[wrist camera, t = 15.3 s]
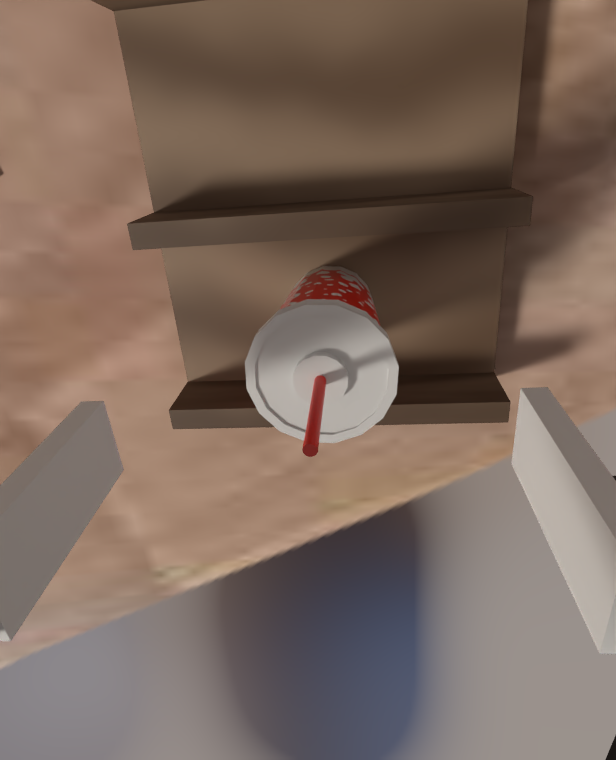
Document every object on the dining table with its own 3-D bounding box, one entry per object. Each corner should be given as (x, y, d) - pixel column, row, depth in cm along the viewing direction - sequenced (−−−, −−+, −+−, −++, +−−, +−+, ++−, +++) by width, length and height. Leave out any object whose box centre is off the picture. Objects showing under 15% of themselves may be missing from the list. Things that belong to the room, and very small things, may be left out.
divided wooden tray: (121, -14, 24) (66, -47, 19) (524, -63, 22) (566, -112, 17) (198, 388, 33) (173, 429, 28) (486, 379, 31) (508, 422, 26)
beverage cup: (348, 227, 26) (341, 319, 14) (407, 323, 28) (447, 479, 16) (254, 290, 28) (171, 420, 16) (315, 375, 30) (285, 551, 18)
